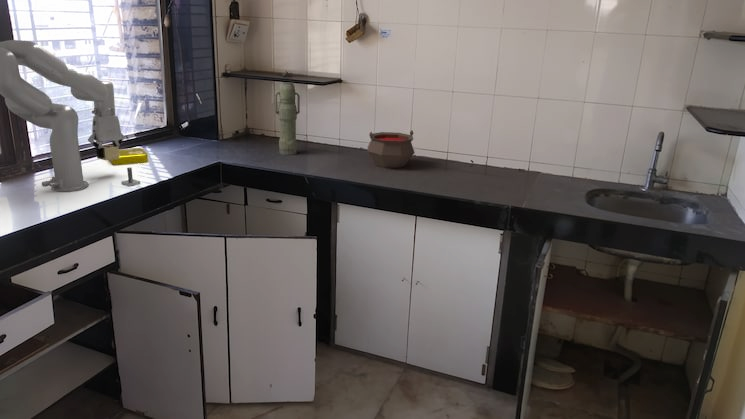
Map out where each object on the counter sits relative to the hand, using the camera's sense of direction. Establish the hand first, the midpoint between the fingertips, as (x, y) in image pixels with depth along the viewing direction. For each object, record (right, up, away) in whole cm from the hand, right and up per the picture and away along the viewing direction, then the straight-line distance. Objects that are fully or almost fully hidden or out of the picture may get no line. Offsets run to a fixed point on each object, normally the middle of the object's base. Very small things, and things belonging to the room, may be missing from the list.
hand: (108, 156), depth 230 cm
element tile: (-4, 0, +28) cm, 29 cm away
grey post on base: (+12, -12, -7) cm, 18 cm away
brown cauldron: (+117, 0, +40) cm, 124 cm away
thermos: (+66, +6, +54) cm, 85 cm away
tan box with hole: (0, -1, 0) cm, 1 cm away
